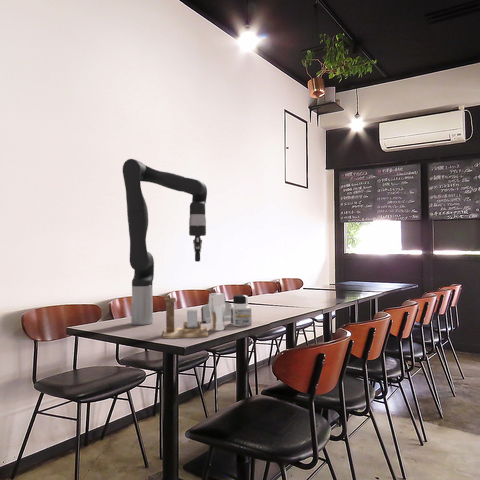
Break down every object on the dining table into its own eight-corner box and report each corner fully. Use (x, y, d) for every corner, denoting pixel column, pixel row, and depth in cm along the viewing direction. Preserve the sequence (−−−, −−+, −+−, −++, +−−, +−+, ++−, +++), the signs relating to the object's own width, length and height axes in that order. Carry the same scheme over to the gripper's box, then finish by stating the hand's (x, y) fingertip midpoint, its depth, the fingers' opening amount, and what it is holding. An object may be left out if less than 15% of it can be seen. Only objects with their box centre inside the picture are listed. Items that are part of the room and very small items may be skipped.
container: (234, 326, 179) (234, 296, 180) (230, 323, 187) (230, 294, 187) (251, 325, 181) (251, 295, 182) (246, 322, 189) (246, 293, 189)
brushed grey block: (187, 331, 163) (187, 311, 163) (187, 329, 167) (187, 310, 167) (197, 331, 164) (197, 311, 164) (197, 329, 168) (196, 309, 168)
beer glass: (217, 327, 177) (216, 292, 177) (229, 329, 173) (228, 293, 173) (205, 330, 172) (205, 293, 172) (218, 331, 167) (217, 294, 168)
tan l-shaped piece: (163, 338, 156) (162, 301, 156) (164, 330, 172) (164, 296, 172) (208, 336, 158) (207, 299, 159) (205, 328, 174) (205, 295, 174)
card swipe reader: (205, 323, 188) (202, 301, 191) (201, 325, 192) (198, 304, 195) (237, 319, 197) (233, 299, 200) (232, 321, 200) (228, 301, 204)
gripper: (189, 226, 192) (189, 260, 192) (188, 224, 178) (188, 261, 178) (205, 226, 193) (205, 260, 193) (206, 224, 179) (206, 261, 179)
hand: (197, 261), depth 185 cm, fingers open, 8 cm apart
